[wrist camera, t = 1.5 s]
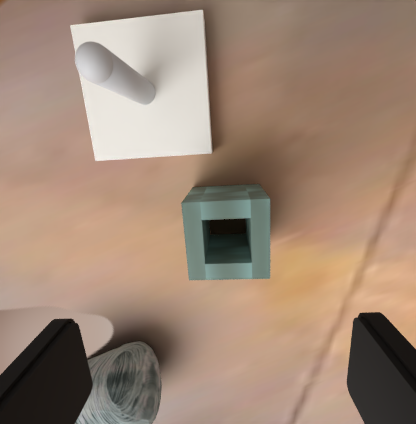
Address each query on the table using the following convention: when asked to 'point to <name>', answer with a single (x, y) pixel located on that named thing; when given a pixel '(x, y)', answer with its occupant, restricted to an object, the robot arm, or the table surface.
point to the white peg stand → (145, 85)
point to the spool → (123, 386)
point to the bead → (227, 243)
